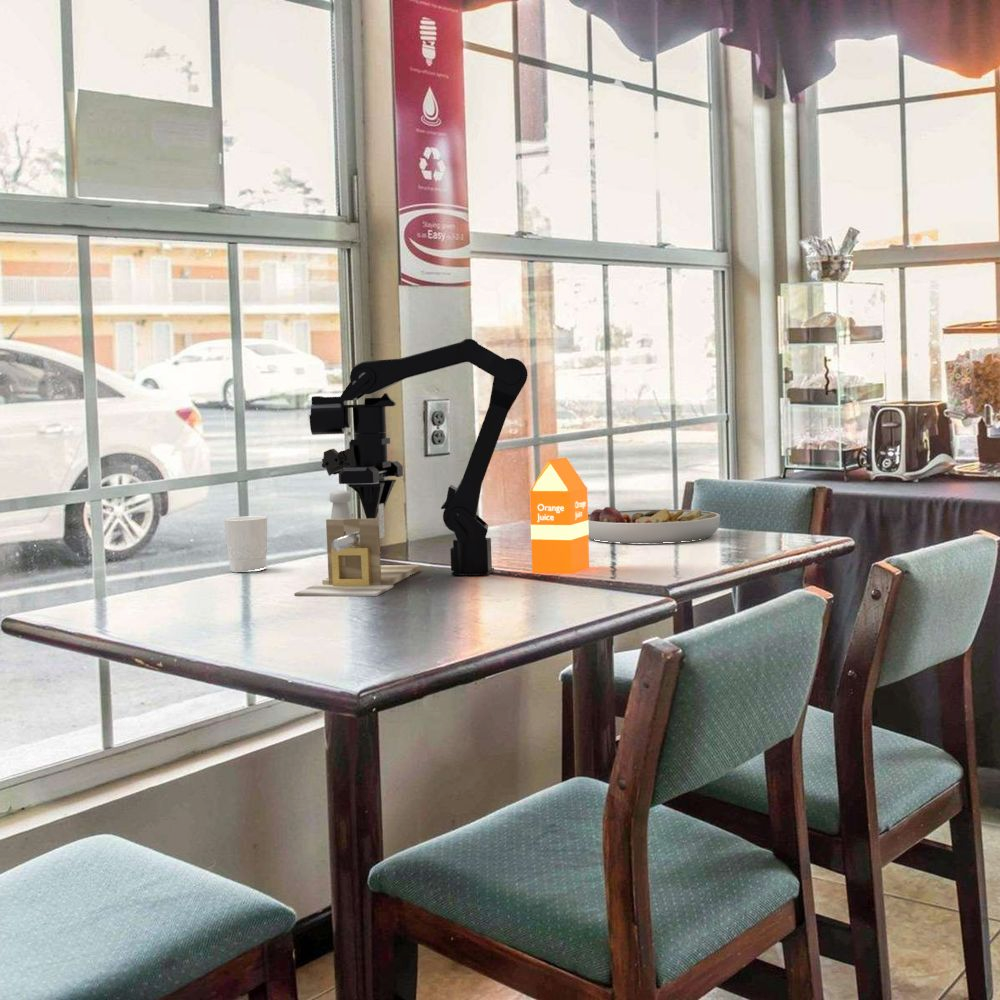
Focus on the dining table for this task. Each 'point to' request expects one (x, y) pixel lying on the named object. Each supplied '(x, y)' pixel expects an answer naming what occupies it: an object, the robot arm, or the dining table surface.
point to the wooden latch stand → (359, 562)
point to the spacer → (365, 567)
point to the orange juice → (559, 520)
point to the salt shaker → (340, 506)
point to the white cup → (246, 542)
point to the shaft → (355, 537)
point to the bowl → (651, 525)
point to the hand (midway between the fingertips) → (373, 520)
